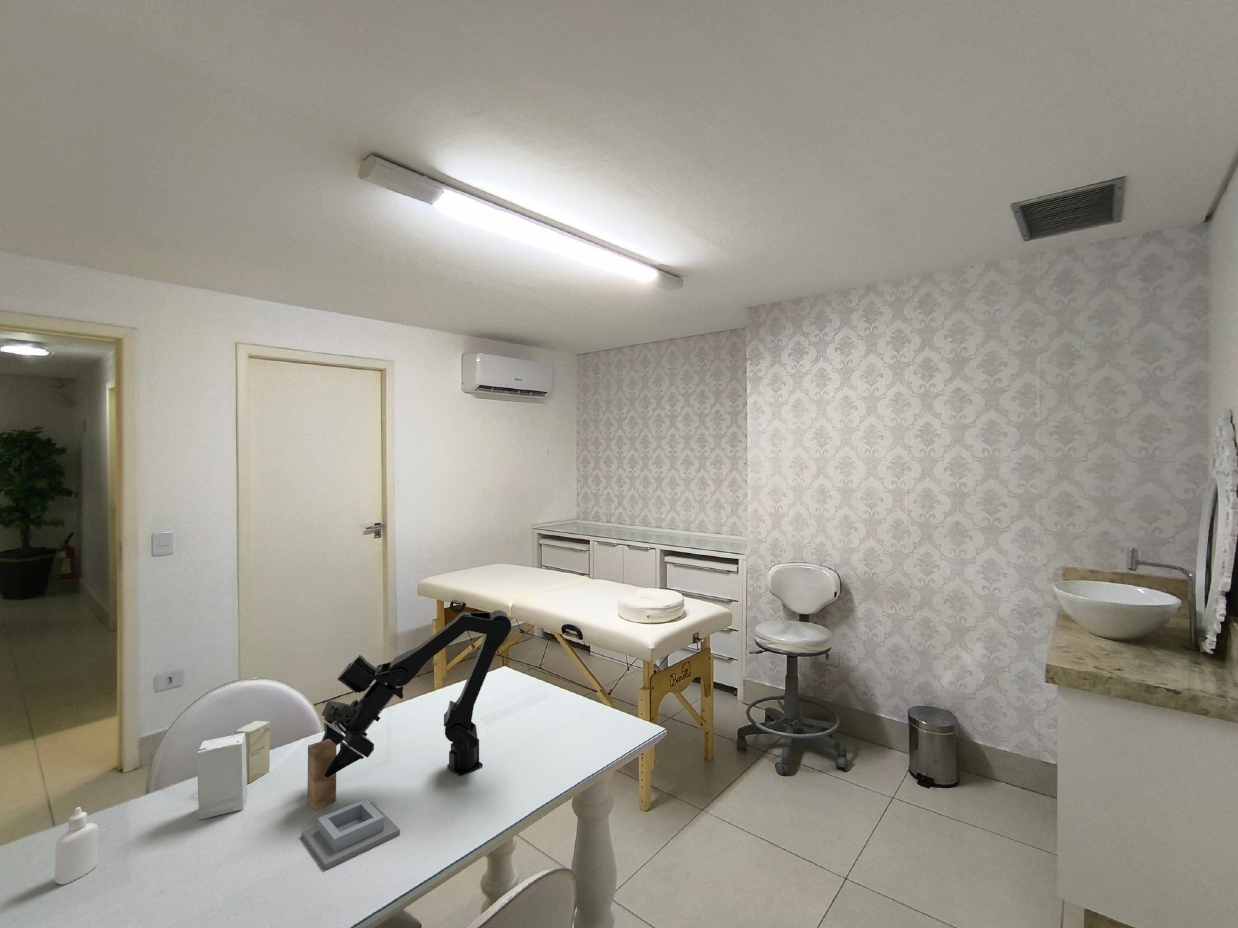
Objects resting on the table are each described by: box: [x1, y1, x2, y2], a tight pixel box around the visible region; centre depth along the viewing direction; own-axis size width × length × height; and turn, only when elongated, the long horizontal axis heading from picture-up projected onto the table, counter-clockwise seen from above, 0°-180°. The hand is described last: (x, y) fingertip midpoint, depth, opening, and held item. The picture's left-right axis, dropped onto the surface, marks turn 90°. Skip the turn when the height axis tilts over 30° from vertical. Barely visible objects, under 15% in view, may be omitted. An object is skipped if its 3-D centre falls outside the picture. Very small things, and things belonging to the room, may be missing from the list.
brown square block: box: [307, 739, 337, 811], centre depth 124 cm, size 4×4×12 cm
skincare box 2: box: [234, 720, 271, 784], centre depth 135 cm, size 6×4×12 cm
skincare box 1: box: [196, 733, 248, 821], centre depth 122 cm, size 8×6×15 cm
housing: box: [300, 798, 401, 870], centre depth 112 cm, size 14×14×4 cm
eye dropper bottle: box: [54, 806, 99, 885], centre depth 102 cm, size 4×6×12 cm
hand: (319, 768), depth 124 cm, fingers open, 9 cm apart
